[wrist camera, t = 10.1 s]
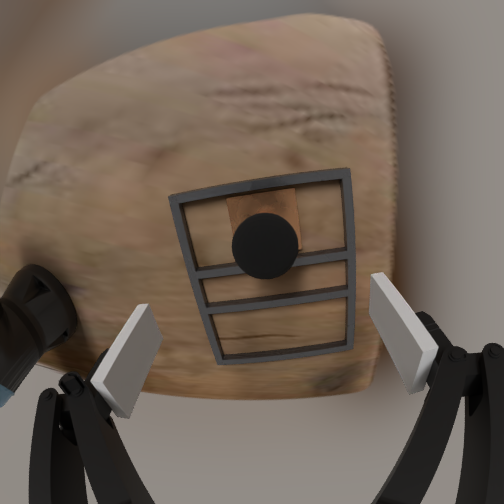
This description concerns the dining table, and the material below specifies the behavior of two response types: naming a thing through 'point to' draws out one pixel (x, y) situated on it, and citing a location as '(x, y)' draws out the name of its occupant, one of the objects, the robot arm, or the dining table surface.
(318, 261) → the gray divided frame
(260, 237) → the light bulb
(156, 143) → the dining table surface
